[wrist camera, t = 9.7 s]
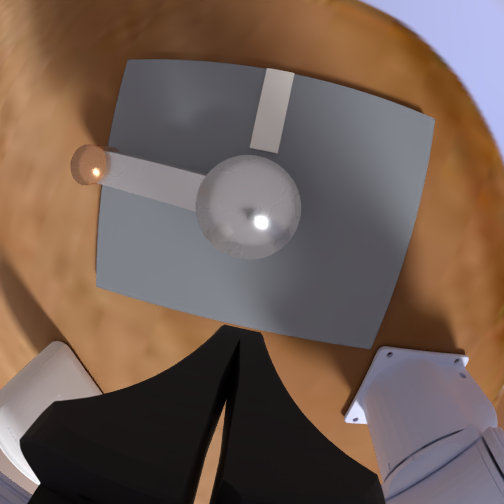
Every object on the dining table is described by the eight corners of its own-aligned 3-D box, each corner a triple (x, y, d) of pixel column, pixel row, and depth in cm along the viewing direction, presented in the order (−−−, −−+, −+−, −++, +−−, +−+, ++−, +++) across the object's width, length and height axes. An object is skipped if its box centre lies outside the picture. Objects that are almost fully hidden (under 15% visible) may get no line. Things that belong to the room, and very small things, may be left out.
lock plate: (428, 121, 16) (442, 116, 14) (367, 342, 20) (374, 357, 18) (134, 63, 16) (121, 55, 14) (103, 281, 21) (89, 291, 19)
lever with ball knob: (310, 173, 15) (316, 173, 13) (281, 260, 17) (281, 275, 14) (103, 121, 15) (81, 117, 13) (86, 200, 17) (64, 204, 14)
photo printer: (126, 419, 25) (75, 511, 13) (99, 421, 26) (48, 501, 14) (68, 335, 23) (-18, 415, 11) (44, 343, 23) (-34, 413, 11)
